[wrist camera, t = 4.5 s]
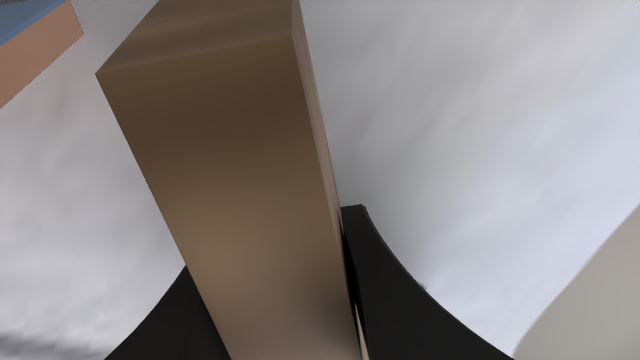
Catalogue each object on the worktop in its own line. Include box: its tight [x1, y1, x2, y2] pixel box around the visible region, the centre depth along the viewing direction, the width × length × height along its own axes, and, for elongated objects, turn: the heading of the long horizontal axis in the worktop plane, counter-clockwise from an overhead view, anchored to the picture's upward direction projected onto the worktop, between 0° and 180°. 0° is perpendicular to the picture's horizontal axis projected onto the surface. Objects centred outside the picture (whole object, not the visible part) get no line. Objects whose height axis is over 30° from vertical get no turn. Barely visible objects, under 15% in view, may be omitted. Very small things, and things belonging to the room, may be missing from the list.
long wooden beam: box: [95, 0, 369, 360], centre depth 13 cm, size 14×3×5 cm, turn 10°
